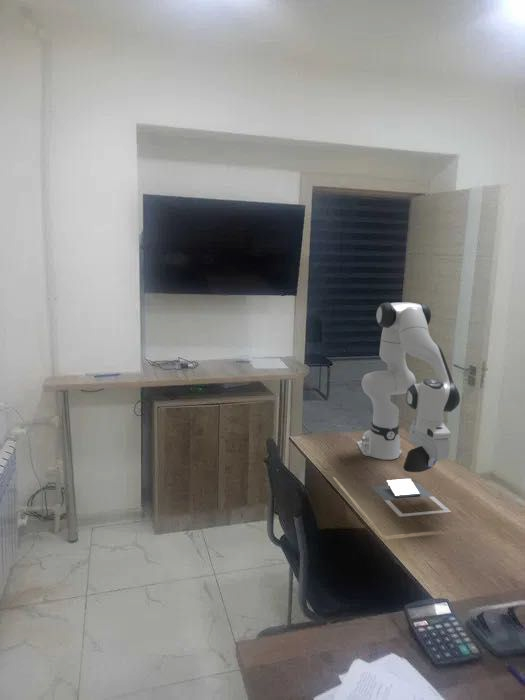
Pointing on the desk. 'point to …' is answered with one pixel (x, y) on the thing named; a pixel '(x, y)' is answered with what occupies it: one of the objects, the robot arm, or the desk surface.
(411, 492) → the light grey rectangular plate
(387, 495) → the mounting board
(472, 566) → the desk surface
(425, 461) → the leaning round-cornered charcoal block
